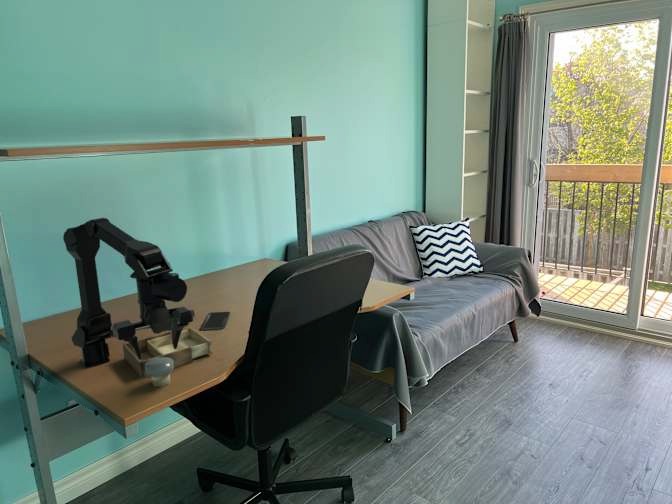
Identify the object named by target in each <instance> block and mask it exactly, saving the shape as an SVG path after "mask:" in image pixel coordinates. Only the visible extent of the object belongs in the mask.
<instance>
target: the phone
mask: <svg viewBox="0 0 672 504" xmlns="http://www.w3.org/2000/svg"><path fill="white" fill-rule="evenodd" d="M230 317H231V311H213V312H209V313H208V314H207V315H206V317H205V318H204V321H203V322H202V324H201V326H200V331H217V330H218V331H221V330H224V329H225V327H226V325H227V324H228V321H229V319H230Z"/></svg>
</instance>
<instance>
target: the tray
mask: <svg viewBox="0 0 672 504" xmlns="http://www.w3.org/2000/svg"><path fill="white" fill-rule="evenodd" d="M187 328H188V329H186V330H182V332H181V334H180V338H179V342H178V345H177V349H174V347H173V343H172V333H171V334H170V335H167V336H163V337H159V338H156V339H152V340H148V341H147V346H148V351H149V352H150V353H151V354H152V355H153V356H154V357H158V356H161V355H164V354H168V353H171V352H175V351H178V350H181V349H185V348H188V347H191V351H192V359H196V358H198V357H202V356H205V355H208V354H209V355H212V354H213V346H212V340H210V339H209V338H208V337H206V336H205V335H203V334H202V333H200V332H199V331H197V329H195V328H194V327H192V326H188V327H187Z"/></svg>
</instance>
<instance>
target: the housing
mask: <svg viewBox="0 0 672 504" xmlns="http://www.w3.org/2000/svg"><path fill="white" fill-rule="evenodd" d="M170 334H172V333H171V331H165V332H161V333H159V334H156V335H155V334H154V335H153V336H152V335H151V336H148V337H145V338H140V339H138V340H137V342H138V346H139V350H140V355H141V359H140V360H139V359H138V358H137V356H136V354H135V352H134V350H133V349H132V347H131V345H130V344H129V342H125V343H123V344H122V349H123V357H124V360H125V361H126V362H127V363H128V364H129V365H130V366H131V367H132V368H133V369H134V370H135V372H136V373H137V374H138V375H139V377H141V378H142V379H145V378H147V377H149V376H148V375H146V372H145V364H146V363H147V362H148V361H150V360H152V359H156V358H161V357H168V358H171V359H173V362H174V369H175V368H176V369H177V368H179V367H182V366H186V365H189V364H191V363H192V364H193V363H194V360H193V358H192V351H191V347H188V348H185V349H181V350H178V351H175V352H171V353H168V354H164V355H161V356H158V357H154V356H153V355H152V354H151V353H150V352H149V351H148V346H147V341H148V340H152V339H156V338H159V337H163V336H167V335H170Z"/></svg>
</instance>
